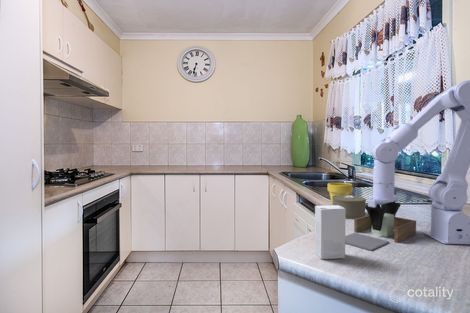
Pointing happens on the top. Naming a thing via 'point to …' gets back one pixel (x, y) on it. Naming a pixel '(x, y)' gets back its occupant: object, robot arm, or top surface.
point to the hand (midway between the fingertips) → (382, 227)
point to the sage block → (386, 226)
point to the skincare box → (330, 231)
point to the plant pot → (339, 189)
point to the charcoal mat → (364, 241)
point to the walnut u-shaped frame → (401, 227)
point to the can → (351, 205)
